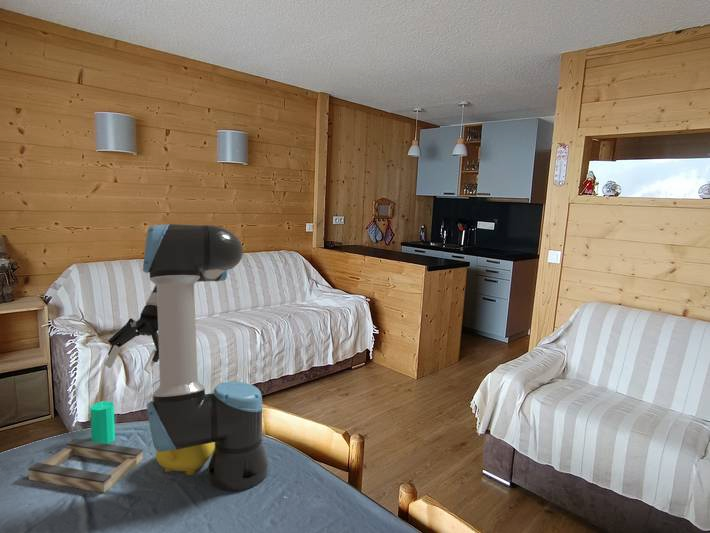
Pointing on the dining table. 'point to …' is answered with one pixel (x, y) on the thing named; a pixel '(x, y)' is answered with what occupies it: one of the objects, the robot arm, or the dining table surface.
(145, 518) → the dining table surface
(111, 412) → the candle
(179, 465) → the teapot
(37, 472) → the rectangular wooden frame
